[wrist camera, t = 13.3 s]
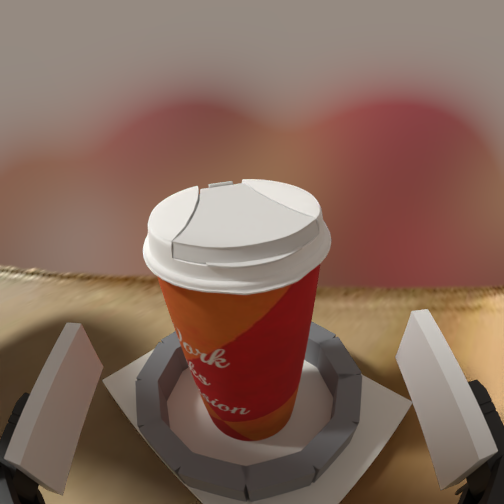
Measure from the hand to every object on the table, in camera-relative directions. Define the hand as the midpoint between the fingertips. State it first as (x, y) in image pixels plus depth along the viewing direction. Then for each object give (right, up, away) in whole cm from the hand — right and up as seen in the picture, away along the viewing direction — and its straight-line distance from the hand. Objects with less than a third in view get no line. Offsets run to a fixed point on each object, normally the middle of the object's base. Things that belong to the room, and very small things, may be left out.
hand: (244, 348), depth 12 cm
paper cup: (0, -7, +8) cm, 10 cm away
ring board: (0, -8, +9) cm, 12 cm away
